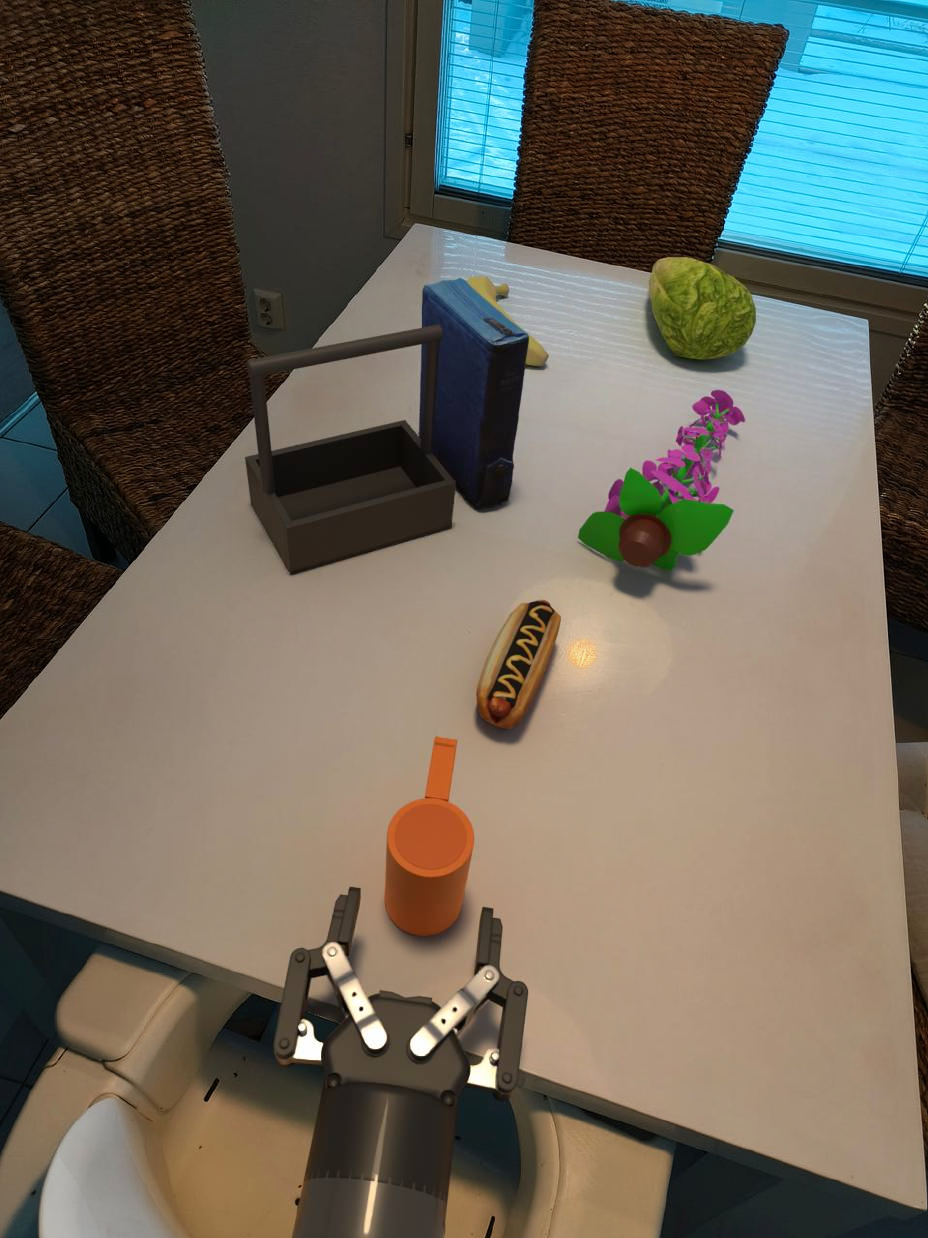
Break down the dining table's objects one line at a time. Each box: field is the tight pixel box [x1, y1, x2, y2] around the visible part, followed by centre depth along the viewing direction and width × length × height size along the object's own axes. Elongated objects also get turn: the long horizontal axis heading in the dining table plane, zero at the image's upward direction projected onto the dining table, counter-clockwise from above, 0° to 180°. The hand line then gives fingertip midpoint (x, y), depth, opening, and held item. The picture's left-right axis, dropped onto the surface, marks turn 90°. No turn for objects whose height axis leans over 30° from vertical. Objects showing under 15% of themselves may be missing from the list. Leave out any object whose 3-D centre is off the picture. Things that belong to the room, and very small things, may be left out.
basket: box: [244, 325, 457, 576], centre depth 81 cm, size 18×12×20 cm, turn 119°
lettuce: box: [648, 256, 757, 361], centre depth 119 cm, size 12×24×13 cm
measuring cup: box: [384, 736, 475, 937], centre depth 59 cm, size 10×6×9 cm, turn 174°
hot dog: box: [475, 599, 562, 730], centre depth 73 cm, size 5×13×5 cm, turn 160°
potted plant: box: [577, 389, 746, 572], centre depth 92 cm, size 12×16×35 cm
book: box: [418, 277, 530, 508], centre depth 88 cm, size 14×5×20 cm, turn 31°
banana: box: [465, 275, 550, 367], centre depth 117 cm, size 14×6×20 cm
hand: (420, 902), depth 55 cm, fingers open, 8 cm apart
